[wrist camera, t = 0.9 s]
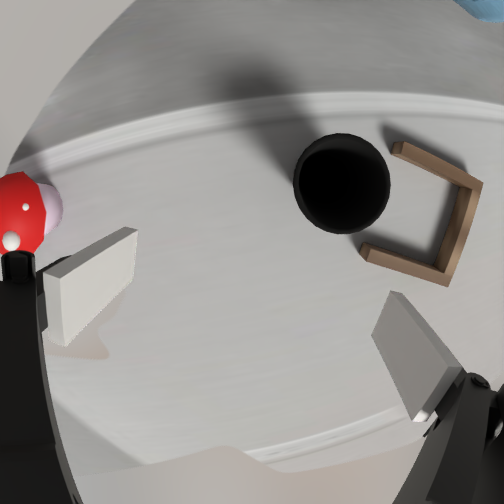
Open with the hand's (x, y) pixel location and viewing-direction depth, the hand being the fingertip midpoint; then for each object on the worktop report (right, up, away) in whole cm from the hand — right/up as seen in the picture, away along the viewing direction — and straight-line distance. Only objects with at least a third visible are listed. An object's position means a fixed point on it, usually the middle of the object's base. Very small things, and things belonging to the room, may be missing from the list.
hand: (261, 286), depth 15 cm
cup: (+7, +10, +19) cm, 22 cm away
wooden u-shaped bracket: (+20, +6, +19) cm, 28 cm away
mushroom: (-29, +8, +21) cm, 37 cm away
